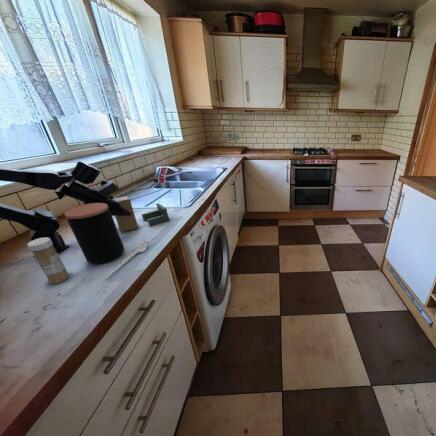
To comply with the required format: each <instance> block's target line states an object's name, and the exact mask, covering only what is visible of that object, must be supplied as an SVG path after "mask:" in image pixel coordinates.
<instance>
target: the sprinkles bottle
mask: <svg viewBox="0 0 436 436" xmlns="http://www.w3.org/2000/svg"><path fill="white" fill-rule="evenodd" d="M52 244H53V243H52V241H51V239H50V238H47V237H45V238H39V239H35V240H33V241H29V242H28V243H27V245H26V246H27V248H28V250H29V251H30V252H32V254H33V255H34V257H35V259H36V261H37V263H38V265H39V267H40V268H41V270H42V272H43V274H44V275H45V276H46V278H47V280H48V283H50V284H59V283H61V282H64V281H65V280H67V279H68V278H69V277H70V273H69V272H68V271H67V269H66V268H65V267H66V266H65V265H64V263H63V261H62V259H61V257H60V255H59V253H57V252H56V250H55V248H54V246H53V245H52Z"/></svg>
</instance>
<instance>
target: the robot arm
mask: <svg viewBox="0 0 436 436" xmlns="http://www.w3.org/2000/svg"><path fill="white" fill-rule="evenodd" d="M75 164H76V165H75V166H74V167H73V168H72V170H71V171H56V170H54V169H53V170H52V169H19V168H12V167H11V168H10V167H3V166H0V182H10V183H18V184H23V185H27V186H31V187H35V188H38V189H43V190H48V191H54V194H55V195H56V196H57V198H58V200H62V199H63V198H64V197H65V196H67V197H69V198H71V199H75V200H77V201H79V202H82V203H83V205H85V204H91V203H105V204H107V205H108V209H107V210H109V211H110V212H111V215H112V217H115V216H131V213H130V212H128V211H127V210H125V209H124V208H122V207H120V203H119V202H118V201H116V200H114V199H113V198H114V195H112V194H113V193H114V192H117V191H118V190H120V187H119V186H117V184H115V183H114V181H112V180H105V179H102V180H100V181H99V184H100V185H99V187H97V188H96V187H89V186H87V185H90V184H91V185H93V184H94V183H95V181H96V179H97V178H98V177H99V176H100V174H101V173H102V170H100V169H98V168H97V167H95V166H93V165H92V164H88V163H86V162H83V161H81V160H78V161H77V162H76V163H75ZM109 199H110V200H109ZM0 219H2V220H6V221H9V222H14V223H17V224H20V225H21V226H23V227H25V228H27V229H29V230H30V234H29V235H30V240H31V241H33V240H35V239H39V238H45V237H47V238H50V239H51V241H52V243H53V244H52V245H53V246H54V248H55V250H56V252H57V253H58V254H59V253H60V252H63V251H64V250H66V249H67V248H68V247H70V245H69V244H66V243H65V240H64V238H63V237H62V235H61V234H60V233H59V232H58V230H59V229H60V227H61V226H60V222H59V221H60V220H59V217H58V216H57V215H55V214H54V213H53V212H52V211H51V210H44V209H42V208H40V207H35V208H34V210H29V209H28V210H26V209H22V208H20V207H15V206H11V205H8V204H4V203H1V202H0ZM31 241H30V242H31Z"/></svg>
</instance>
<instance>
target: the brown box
mask: <svg viewBox="0 0 436 436" xmlns="http://www.w3.org/2000/svg"><path fill="white" fill-rule="evenodd" d="M113 199H114V200H116V201H118V202H119V203H120V207H122V208H124V209H125V210H127V211H128V212H130V213H131V216H114V217H115V220H116V224H117V228H118V229H119V231H120V232H121V233H125V232H128V231H132V230H137V229H139V225H138V222H137V218H136V215H135V211H134V208H133V204H132V202H131V198H129V197H128V196H127V195H125V196H119V197H113ZM109 200H110V199H109Z"/></svg>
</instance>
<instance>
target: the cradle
mask: <svg viewBox="0 0 436 436" xmlns="http://www.w3.org/2000/svg"><path fill="white" fill-rule="evenodd" d="M155 205H156V209H155V210H152V211H148V212H145V213H142V214H141V217H142V219H143V221H147V223H148V226H149V227H153V226H156V225H159V224H163V223H165V222H168V221H170V217H169V213H168V210H167V207H165V206H164V205H162V204H160V203H159V202H158V203H155Z"/></svg>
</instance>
